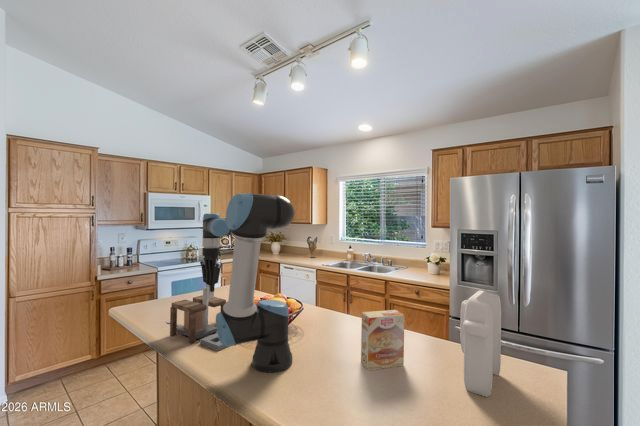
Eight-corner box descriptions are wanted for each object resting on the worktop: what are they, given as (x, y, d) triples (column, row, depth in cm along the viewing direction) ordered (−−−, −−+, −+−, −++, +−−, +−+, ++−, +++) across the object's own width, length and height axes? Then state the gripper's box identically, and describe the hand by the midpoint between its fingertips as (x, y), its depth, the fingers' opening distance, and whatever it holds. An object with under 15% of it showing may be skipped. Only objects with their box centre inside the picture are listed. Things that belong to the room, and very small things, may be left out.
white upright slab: (470, 361, 121) (471, 284, 121) (503, 370, 114) (504, 289, 114) (449, 391, 100) (450, 299, 100) (487, 405, 93) (489, 305, 93)
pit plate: (244, 339, 138) (244, 335, 139) (218, 350, 127) (218, 345, 127) (226, 333, 145) (226, 329, 145) (200, 343, 133) (200, 339, 133)
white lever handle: (218, 330, 147) (219, 286, 147) (196, 339, 137) (196, 291, 137) (197, 324, 155) (198, 281, 156) (175, 331, 145) (176, 286, 146)
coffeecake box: (367, 371, 112) (368, 317, 112) (360, 362, 119) (360, 311, 119) (404, 366, 116) (405, 314, 116) (395, 357, 123) (395, 308, 123)
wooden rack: (229, 331, 148) (229, 300, 148) (193, 345, 132) (194, 310, 132) (184, 316, 167) (184, 289, 167) (149, 327, 151) (149, 296, 152)
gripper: (227, 247, 141) (226, 299, 141) (209, 245, 148) (208, 294, 148) (213, 248, 134) (212, 302, 134) (195, 246, 142) (194, 297, 142)
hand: (210, 298), depth 141 cm, fingers closed
